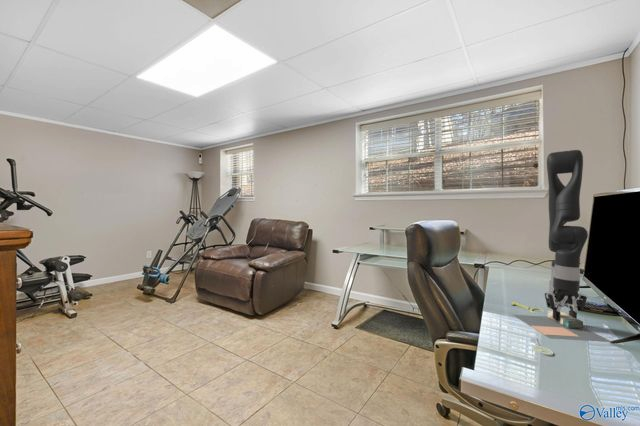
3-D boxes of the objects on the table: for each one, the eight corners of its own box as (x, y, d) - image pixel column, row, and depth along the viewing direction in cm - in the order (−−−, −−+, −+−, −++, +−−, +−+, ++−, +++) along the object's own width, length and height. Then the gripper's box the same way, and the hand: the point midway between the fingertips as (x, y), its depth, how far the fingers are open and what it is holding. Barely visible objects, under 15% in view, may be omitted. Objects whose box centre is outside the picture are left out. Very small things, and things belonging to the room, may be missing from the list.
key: (511, 305, 125) (511, 300, 124) (545, 312, 117) (545, 308, 117) (509, 310, 119) (509, 305, 119) (545, 318, 111) (545, 313, 111)
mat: (512, 315, 111) (512, 314, 111) (563, 318, 109) (563, 317, 109) (549, 339, 91) (549, 337, 91) (612, 343, 90) (612, 341, 89)
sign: (544, 336, 93) (554, 356, 80) (544, 339, 93) (554, 359, 80) (525, 332, 95) (532, 350, 83) (525, 334, 95) (532, 353, 83)
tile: (547, 316, 109) (547, 310, 109) (560, 317, 109) (560, 311, 109) (568, 327, 99) (568, 320, 99) (582, 328, 99) (583, 321, 99)
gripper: (577, 275, 107) (575, 317, 107) (539, 274, 108) (537, 315, 108) (595, 280, 99) (593, 326, 100) (554, 279, 100) (552, 323, 101)
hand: (564, 320), depth 104 cm, fingers closed on tile, 5 cm apart
